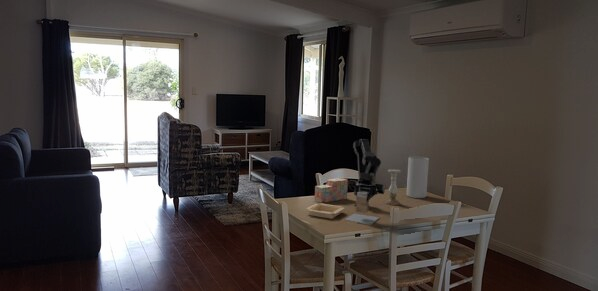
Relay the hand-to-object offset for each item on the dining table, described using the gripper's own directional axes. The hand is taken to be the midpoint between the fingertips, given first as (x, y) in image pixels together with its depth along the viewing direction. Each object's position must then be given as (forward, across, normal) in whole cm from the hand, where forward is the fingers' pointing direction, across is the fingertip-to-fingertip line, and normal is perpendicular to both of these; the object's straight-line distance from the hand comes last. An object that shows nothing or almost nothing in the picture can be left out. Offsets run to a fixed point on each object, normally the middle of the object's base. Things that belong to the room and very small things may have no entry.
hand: (362, 200), depth 233 cm
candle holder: (-24, +4, +40) cm, 47 cm away
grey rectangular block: (+3, 0, +5) cm, 6 cm away
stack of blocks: (-15, -31, +31) cm, 46 cm away
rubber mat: (+7, 0, +8) cm, 11 cm away
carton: (+8, -20, +7) cm, 23 cm away
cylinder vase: (-44, +12, +60) cm, 75 cm away
